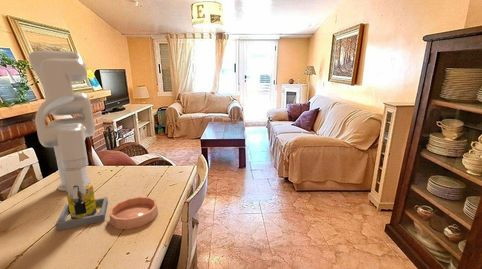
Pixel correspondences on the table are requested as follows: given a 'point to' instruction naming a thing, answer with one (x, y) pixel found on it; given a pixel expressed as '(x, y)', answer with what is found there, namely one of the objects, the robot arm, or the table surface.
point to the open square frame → (82, 221)
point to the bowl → (133, 212)
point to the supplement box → (88, 201)
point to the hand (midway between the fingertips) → (83, 207)
